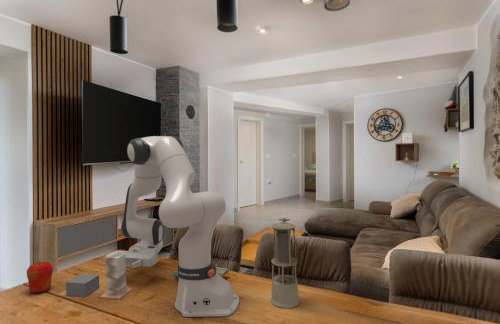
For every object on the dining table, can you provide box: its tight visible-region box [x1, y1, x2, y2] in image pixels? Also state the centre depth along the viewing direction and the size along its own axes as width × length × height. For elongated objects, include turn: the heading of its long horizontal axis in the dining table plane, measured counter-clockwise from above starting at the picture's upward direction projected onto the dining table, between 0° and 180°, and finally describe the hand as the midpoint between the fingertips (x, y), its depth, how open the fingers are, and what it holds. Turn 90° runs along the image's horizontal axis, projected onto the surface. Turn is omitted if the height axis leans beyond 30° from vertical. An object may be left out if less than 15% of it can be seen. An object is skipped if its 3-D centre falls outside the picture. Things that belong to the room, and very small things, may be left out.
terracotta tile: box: [99, 287, 133, 301], centre depth 119 cm, size 8×8×1 cm
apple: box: [26, 261, 54, 294], centre depth 122 cm, size 9×8×12 cm
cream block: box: [104, 253, 127, 296], centre depth 119 cm, size 5×5×14 cm
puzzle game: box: [172, 266, 230, 281], centre depth 132 cm, size 12×5×20 cm
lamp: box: [269, 217, 301, 309], centre depth 113 cm, size 10×13×30 cm
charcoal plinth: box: [65, 273, 100, 298], centre depth 121 cm, size 8×8×5 cm
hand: (120, 265), depth 122 cm, fingers open, 8 cm apart
